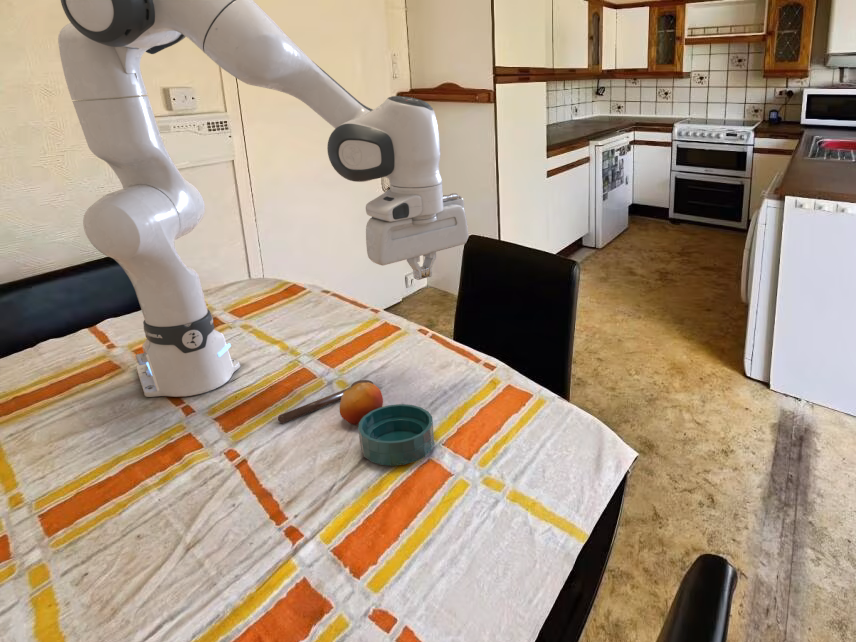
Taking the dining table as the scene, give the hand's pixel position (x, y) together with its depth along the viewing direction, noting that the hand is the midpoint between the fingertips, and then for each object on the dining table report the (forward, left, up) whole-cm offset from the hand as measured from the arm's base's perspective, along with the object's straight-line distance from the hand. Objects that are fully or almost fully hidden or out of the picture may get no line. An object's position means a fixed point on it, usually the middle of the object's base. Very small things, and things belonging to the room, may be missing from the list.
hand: (422, 277), depth 114 cm
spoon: (-9, -17, -23) cm, 30 cm away
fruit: (0, -16, -23) cm, 28 cm away
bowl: (+12, -17, -23) cm, 31 cm away
